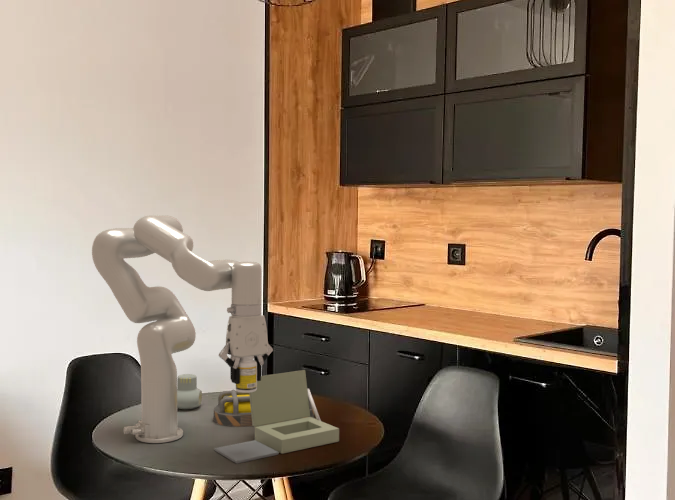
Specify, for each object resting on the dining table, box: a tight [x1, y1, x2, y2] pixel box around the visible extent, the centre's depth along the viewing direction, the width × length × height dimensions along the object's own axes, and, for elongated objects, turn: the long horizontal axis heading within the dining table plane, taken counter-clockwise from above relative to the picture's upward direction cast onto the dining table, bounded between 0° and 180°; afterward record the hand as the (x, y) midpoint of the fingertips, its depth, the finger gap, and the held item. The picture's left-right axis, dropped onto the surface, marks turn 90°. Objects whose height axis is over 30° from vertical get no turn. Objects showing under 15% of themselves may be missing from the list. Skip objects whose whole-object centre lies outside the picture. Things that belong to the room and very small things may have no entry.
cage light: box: [213, 389, 315, 427], centre depth 220 cm, size 15×8×30 cm
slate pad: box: [213, 439, 279, 464], centre depth 189 cm, size 12×12×1 cm
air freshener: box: [177, 373, 203, 410], centre depth 231 cm, size 11×8×10 cm
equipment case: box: [249, 369, 340, 455], centre depth 200 cm, size 19×18×16 cm
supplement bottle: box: [235, 356, 257, 393], centre depth 188 cm, size 5×5×10 cm
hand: (246, 380), depth 188 cm, fingers closed on supplement bottle, 5 cm apart
